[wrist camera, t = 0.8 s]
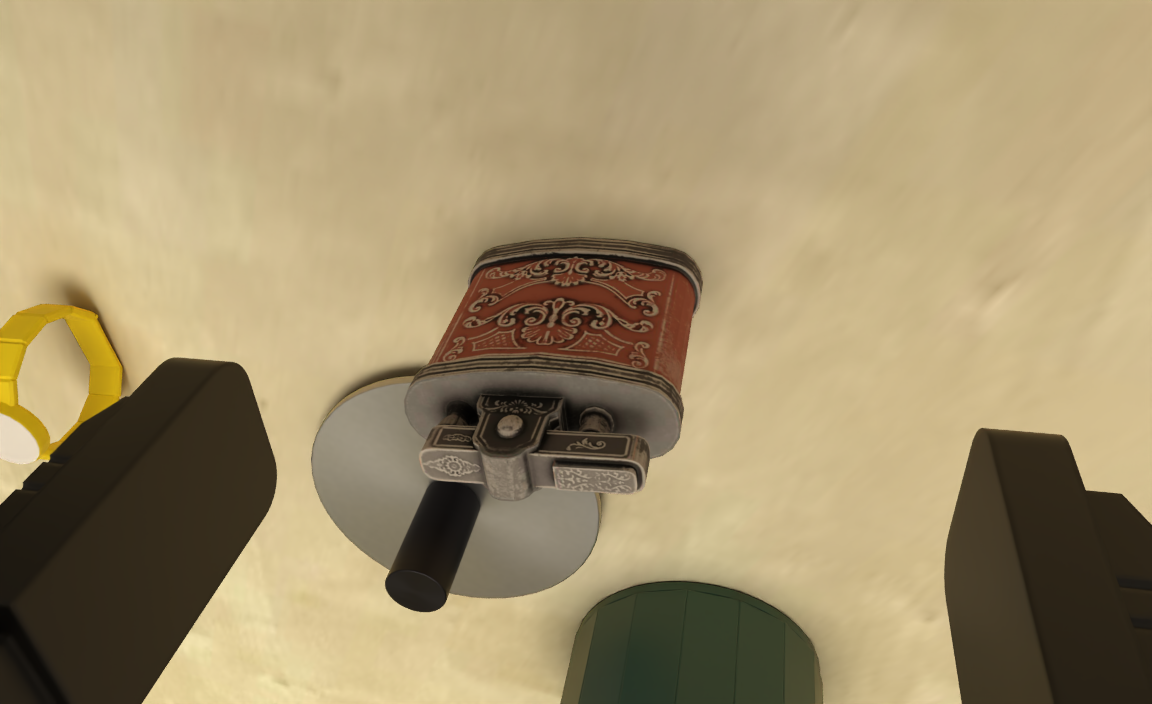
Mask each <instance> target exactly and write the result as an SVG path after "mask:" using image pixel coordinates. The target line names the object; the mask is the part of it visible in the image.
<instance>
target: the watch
mask: <svg viewBox="0 0 1152 704" xmlns="http://www.w3.org/2000/svg"><path fill="white" fill-rule="evenodd" d="M61 318H63V319H65V321H66V322H67V324H68V326H69V328H70V330H71V331H72V333H73V335H74V337H75V338H76V340H77V342H78V344H79V346H80V347H81V349H82V351H83V353H84V354H85V356H86V358H87V360H88V362H89V363H90V380H89V395H88V397H87V400H86V402H85V404H84V407H83V409H82V412H81V414H80V417H79V419H78V421H77V423H76V424H75V425H74V426H73V427H72V428H71V429H70V430H69V431H68V432H67V433H66V434H65V435H64V436H63V437H62V438H61V439H60V440H59V441H58V442H55V443H52V444H50V436H49V433H48V431H47V429H46V427H45V426H44V425H43V423H42V422H41V421H40V420H39V419H38V418H37V417H36V416H35V415H34V414H32V413H31V412H30V411H28V410H27V409H25V408H23V407H22V406H20V405H18V391H17V380H16V379H17V377H18V374H19V371H20V368H21V365H22V361H23V358H24V355H25V352H26V348H27V346H28V345H29V344H30V343H31V341H32V340H33V339H34V338H35V337H36V336H37V334H38V333H39V332H40V331H41V330H42V328H43V327H44V326H45V325H46V324H47V323H50V322H53V321H55V320H58V319H61ZM97 318H99V317H98V315H97V314H94V312H92V311H88V310H85V309H82V308H78V307H75V306H69V305H53V304H40V305H37V306H34V307H31V308H28V309H25V310H23V311H20V312H17V313H16V315H13V316H12V317H11V318H10V319H9V320H8V321H7V323H6V324H5V325H4V326H3V327H2V328H1V329H0V458H1V459H4V460H6V461H8V462H12V463H17V464H29V463H32V462H35V461H37V460H38V459H44V460H50V455H51V454H52V453H53V452H54V451H55V450H56V449H57V448H58V447H59V446H60V445H61V444H62V443H63V442H64V441H65V440H66V439H67V438H68V437H69V435H70V434H71V433H72V432H73V431H74V430H75V429H76V428H77V427H78V426H79V425H80V424H81V423H83V422H84V421H86V420H88V419H89V418H91V417H93V416H94V415H96V414H98V413H99V412H101V411H102V410H104V409H106V408H107V407H109V406H111V405H112V404H114V403H116V402H117V401H119V400H120V398H119V397H120V396H121V386H122V369H123V367H122V366H121V364H120V362H119V360H118V358H117V356H116V354H115V352H114V351H113V349H112V347H111V345H110V343H109V341H108V339H107V337H106V336H105V334H104V331H103V329H102V327H101V325H100V324H99V322H98V320H97Z"/></svg>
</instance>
